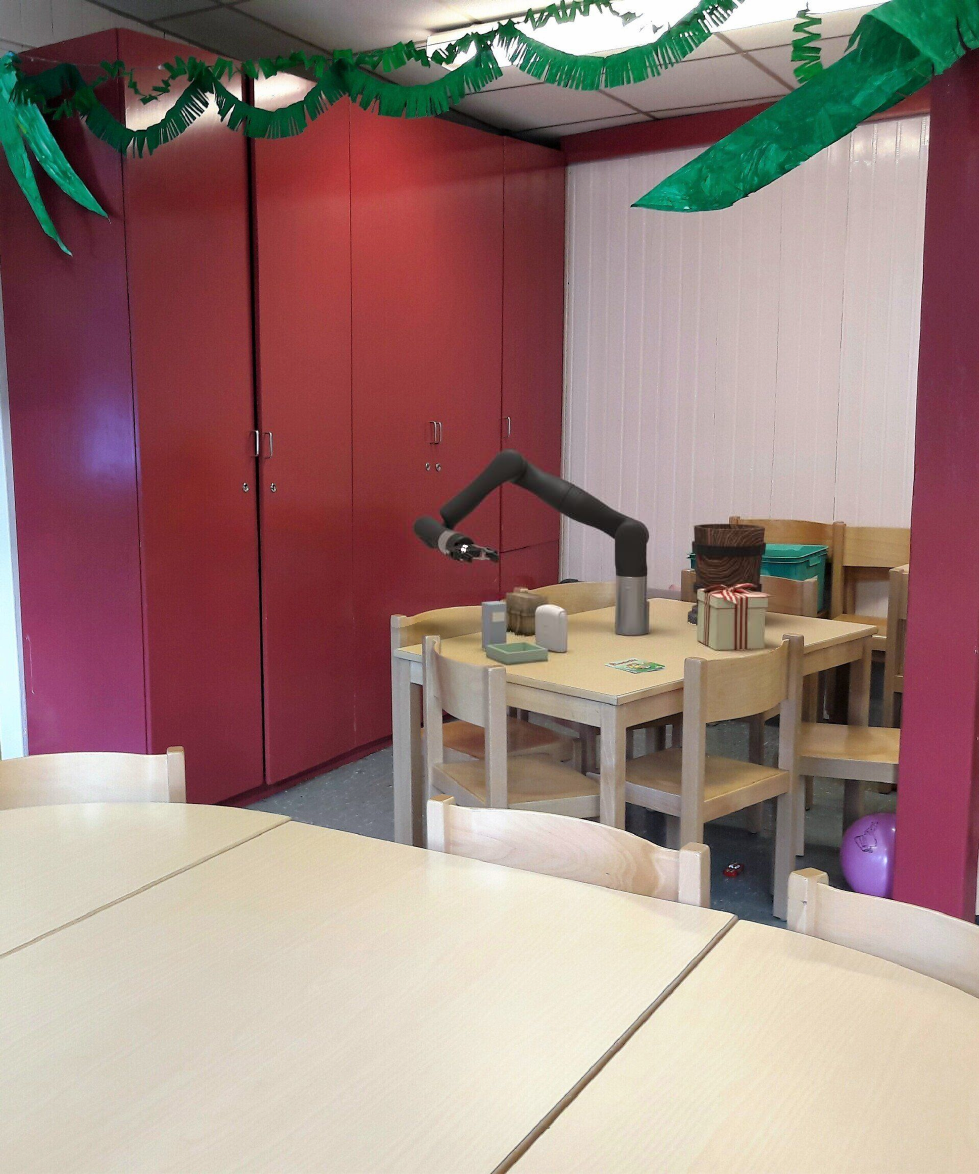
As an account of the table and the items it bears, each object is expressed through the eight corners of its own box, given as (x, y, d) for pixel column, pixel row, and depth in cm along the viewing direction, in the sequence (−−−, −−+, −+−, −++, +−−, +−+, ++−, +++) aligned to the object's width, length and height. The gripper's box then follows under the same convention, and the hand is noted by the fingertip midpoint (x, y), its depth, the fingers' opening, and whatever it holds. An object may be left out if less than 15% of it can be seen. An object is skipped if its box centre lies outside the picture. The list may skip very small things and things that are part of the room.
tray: (525, 652, 292) (525, 641, 292) (547, 660, 282) (547, 649, 281) (486, 656, 287) (486, 645, 286) (507, 665, 276) (507, 653, 276)
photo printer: (532, 647, 298) (532, 603, 297) (544, 645, 301) (544, 602, 299) (558, 653, 291) (558, 608, 289) (569, 651, 293) (570, 606, 291)
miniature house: (525, 638, 312) (525, 599, 310) (499, 630, 324) (500, 593, 322) (567, 633, 320) (568, 595, 318) (541, 626, 332) (541, 589, 330)
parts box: (497, 647, 299) (497, 601, 297) (506, 650, 294) (506, 603, 293) (481, 648, 297) (481, 602, 295) (490, 652, 292) (490, 605, 290)
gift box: (722, 654, 290) (724, 590, 287) (691, 641, 307) (693, 581, 305) (779, 650, 294) (781, 588, 292) (745, 638, 312) (747, 579, 309)
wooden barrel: (674, 624, 334) (677, 527, 329) (714, 611, 357) (716, 520, 353) (747, 632, 320) (751, 531, 316) (783, 618, 344) (787, 524, 339)
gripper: (436, 532, 307) (464, 546, 294) (478, 532, 315) (508, 546, 301) (433, 558, 309) (461, 573, 296) (475, 557, 316) (504, 572, 303)
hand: (484, 559), depth 299 cm, fingers open, 8 cm apart
